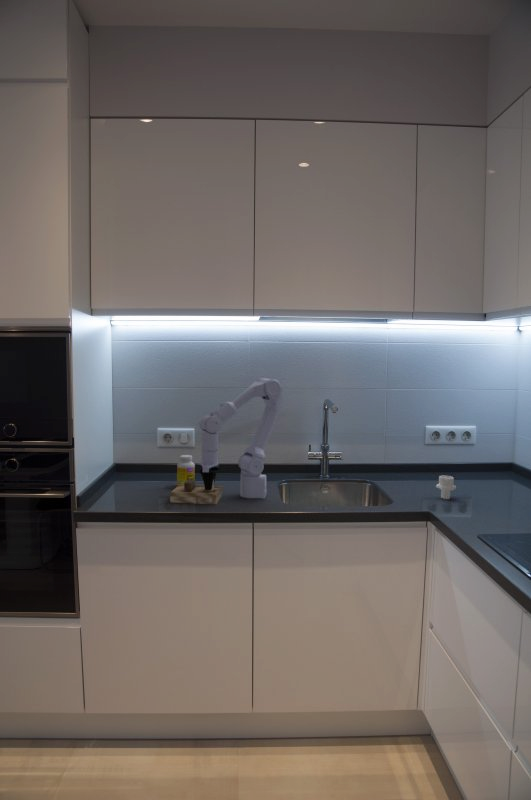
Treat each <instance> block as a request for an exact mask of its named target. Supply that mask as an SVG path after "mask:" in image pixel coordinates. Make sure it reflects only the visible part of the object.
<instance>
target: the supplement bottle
mask: <svg viewBox="0 0 531 800" xmlns="http://www.w3.org/2000/svg"><path fill="white" fill-rule="evenodd" d="M192 460H193V455H190V454H182V455H180V456H179V461H180V462H177V464H176V465H177V466H176V467H177V468H176V469H177V470H176V487H177V486H178V485H184V483H185V482H186V481H187V480H188V479H194V480H195V481H196V479H195V476H196V475H195V473H196V472H195V471H196V470H195V469H196V467H195V466H196V465H195V463H194V461H192Z"/></svg>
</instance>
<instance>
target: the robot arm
mask: <svg viewBox="0 0 531 800" xmlns="http://www.w3.org/2000/svg"><path fill="white" fill-rule="evenodd" d="M282 392H283V387H282V385H281V383H280V381H279V380H278V379H276V378H265V377H261V378H258V379H257V380H256V381H254V382H252V383H251V384H250V385H249V387H247V388H246V389H244V391H242V392H241V393H240V394H239V395H237V396H236V397H235V398H234V399H233V400H232V401H225V402H223V401H222V402H221V403H220V404H219V406H218V407H217V408H215V409H214V410H213V411H210V412H209V414H208V415H204V416H203V417H202V418H201V420H200V422H199V423H198V424H199V428H200V429H201V461H200V460H199V461H197V464H198V465H200V466H201V467H202V468H201V469H199V473H200V475H201V477H202V481H203V486H205V490H211V489H212V485H213V480H214V484H215V482H216V477H217V475H218V471H219V469H220V466H219V432H220V430H221V428H222V426H223V425H224V424H225V423H227V422H228V421H230V420H231V419H232V418H234V416H236V415H237V411H238V409H239V408H241V407H243V406H244V405H245V404H247V403H249V402H250V401H252V399H254V398H261V399H262V400H263V402H264V404H265V408H264V410H263V413H262V415H261V418H260V420H259V423H258V425H257V428H256V429H255V432H254V434H253V437H252V439H251V440H252V441H251V442H250V445H249V446H248V447H246V448H245V450H244V452H243V454H242V455H241V456H240V457H239V458H238V462H237V464H238V467H239V468H240V495H239V496H240V497H241V498H245V499H265V498H266V496H267V494H268V493H267V492H268V490H267V475H266V474H262V472H263V471H264V469H265V468H264V467H265V466H264V465H265V463H264V462H265V459H266V455H265V449H266V447H267V444H268V442H269V439H270V437H271V434H272V432H273V430H274V427H275V425H276V422H277V420H278V417H279V414H280V412H281V409H282V408H283V407H282V406H283V403H282V402H283V401H282V397H283V396H282Z"/></svg>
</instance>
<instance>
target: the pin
mask: <svg viewBox="0 0 531 800" xmlns="http://www.w3.org/2000/svg"><path fill="white" fill-rule="evenodd" d="M214 486H215V483H214V480H213V485H212V489H211V490H205V492H214Z"/></svg>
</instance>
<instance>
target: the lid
mask: <svg viewBox="0 0 531 800" xmlns="http://www.w3.org/2000/svg"><path fill="white" fill-rule="evenodd" d="M195 485H196V479H195V480H194V479H188V480H187V481H186V482H185V483H184V486H177V485H176V487H175V488H174V489H172V491H171V492H190V493H212V494H217V496H218V495H219V493H220V492H221V488H214V492H205V487H195Z"/></svg>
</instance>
